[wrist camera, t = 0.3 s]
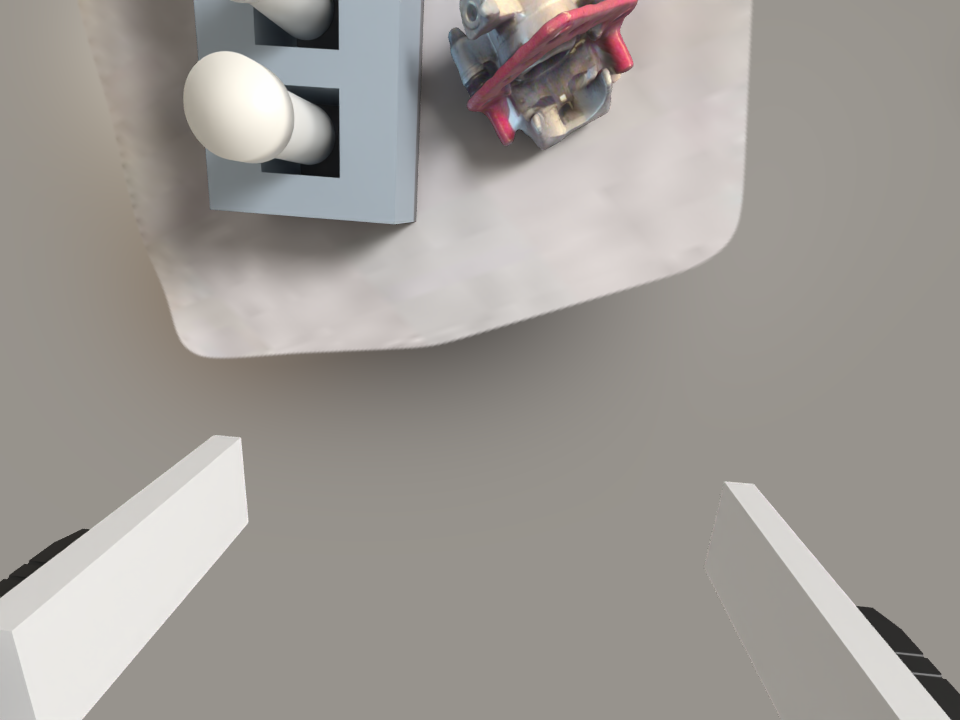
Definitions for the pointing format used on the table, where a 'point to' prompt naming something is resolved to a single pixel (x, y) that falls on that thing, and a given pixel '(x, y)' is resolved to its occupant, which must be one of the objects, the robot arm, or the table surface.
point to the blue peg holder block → (330, 110)
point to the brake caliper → (540, 63)
